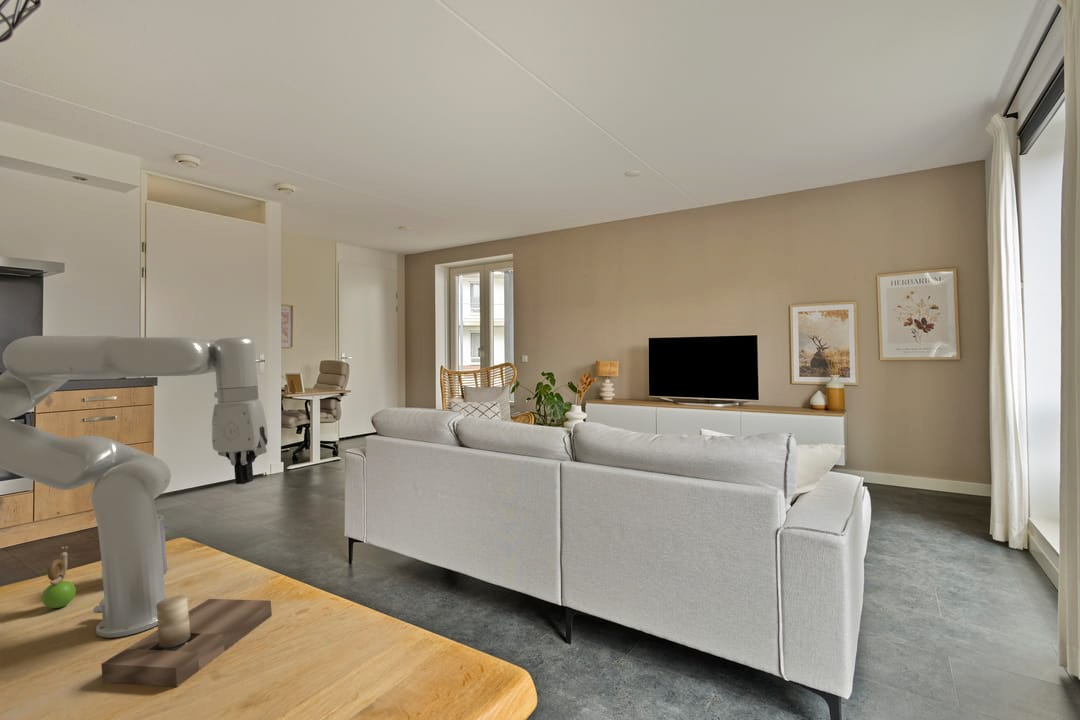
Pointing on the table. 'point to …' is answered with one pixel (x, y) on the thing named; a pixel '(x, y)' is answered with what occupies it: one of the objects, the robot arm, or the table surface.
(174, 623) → the beech leg
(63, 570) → the snail figurine
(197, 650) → the walnut board
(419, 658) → the table surface
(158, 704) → the table surface
